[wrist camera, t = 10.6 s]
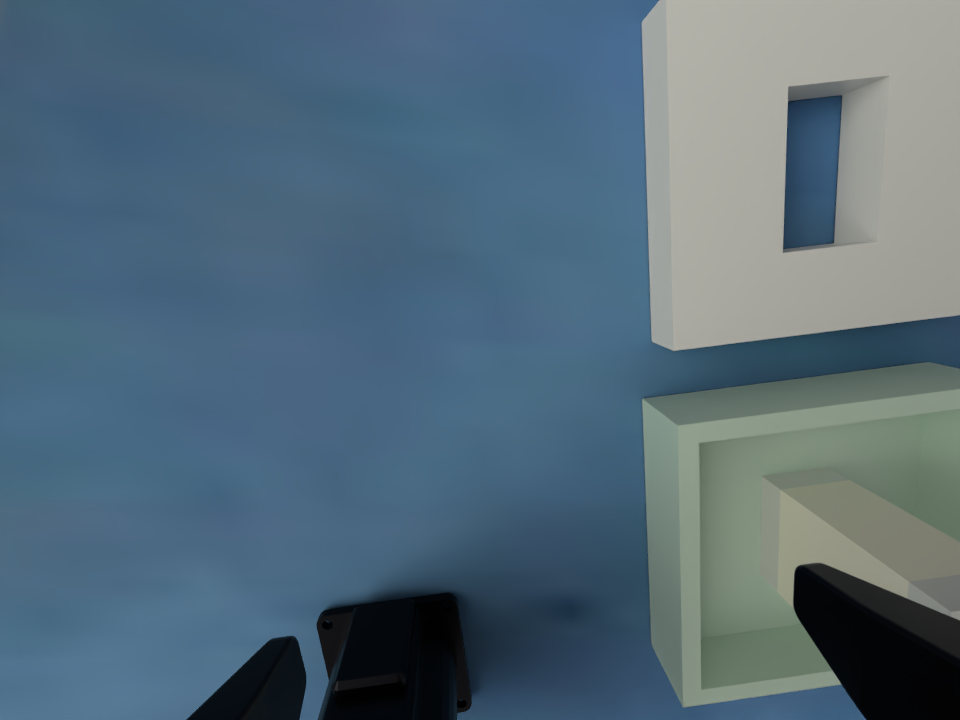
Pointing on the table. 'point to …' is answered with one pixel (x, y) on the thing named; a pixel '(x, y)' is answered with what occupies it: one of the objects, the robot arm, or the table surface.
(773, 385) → the parts tray
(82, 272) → the table surface
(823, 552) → the block
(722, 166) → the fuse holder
